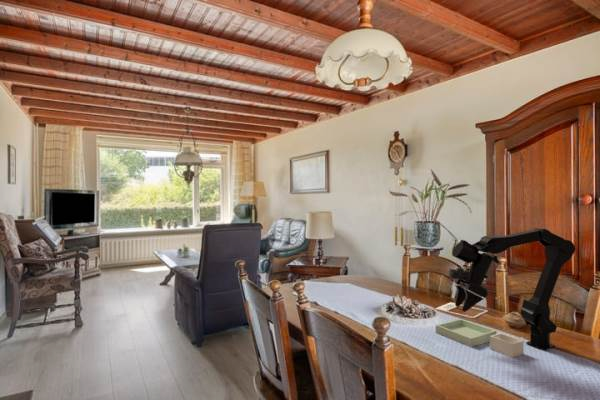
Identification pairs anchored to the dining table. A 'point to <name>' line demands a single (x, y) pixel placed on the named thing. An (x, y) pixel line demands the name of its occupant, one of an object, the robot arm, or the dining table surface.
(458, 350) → the dining table surface
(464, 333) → the green tray
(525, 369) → the dining table surface
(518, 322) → the pottery oil lamp
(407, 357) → the dining table surface
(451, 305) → the photo frame
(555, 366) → the dining table surface
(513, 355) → the small crate
